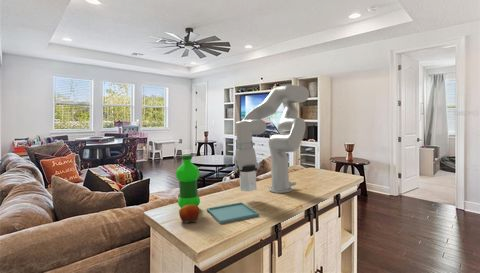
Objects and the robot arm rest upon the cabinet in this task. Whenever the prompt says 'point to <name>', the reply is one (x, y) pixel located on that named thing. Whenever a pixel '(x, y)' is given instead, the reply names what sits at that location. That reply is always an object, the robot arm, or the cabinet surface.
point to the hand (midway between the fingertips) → (247, 182)
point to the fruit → (189, 213)
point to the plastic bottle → (188, 182)
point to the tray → (232, 212)
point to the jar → (248, 178)
